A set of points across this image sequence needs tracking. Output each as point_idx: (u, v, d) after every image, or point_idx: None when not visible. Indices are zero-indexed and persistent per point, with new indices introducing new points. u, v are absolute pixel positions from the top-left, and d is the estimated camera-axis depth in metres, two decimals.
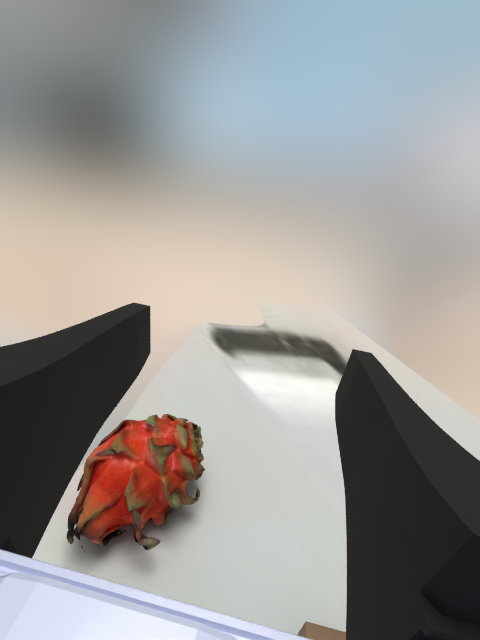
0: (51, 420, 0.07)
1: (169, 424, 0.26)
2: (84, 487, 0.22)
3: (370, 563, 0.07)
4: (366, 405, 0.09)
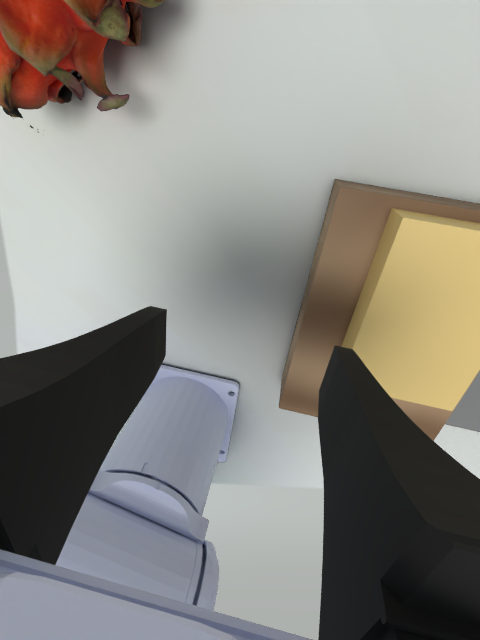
0: (76, 426, 0.07)
1: None
2: None
3: (341, 555, 0.07)
4: (344, 400, 0.09)
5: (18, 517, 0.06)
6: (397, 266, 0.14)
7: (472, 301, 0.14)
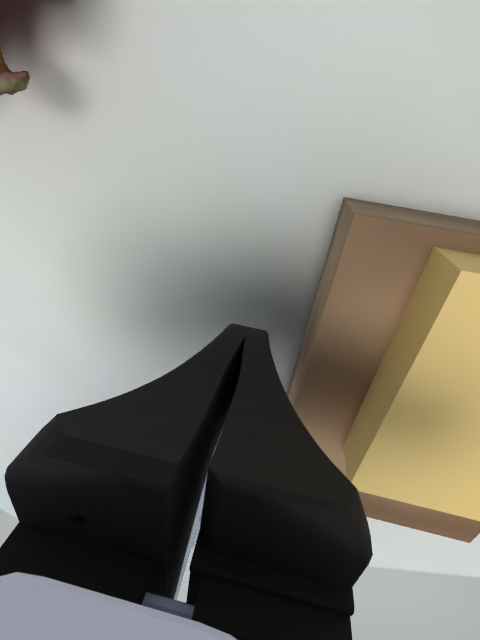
0: (201, 457, 0.07)
1: None
2: None
3: None
4: None
5: (171, 560, 0.06)
6: (446, 341, 0.09)
7: None
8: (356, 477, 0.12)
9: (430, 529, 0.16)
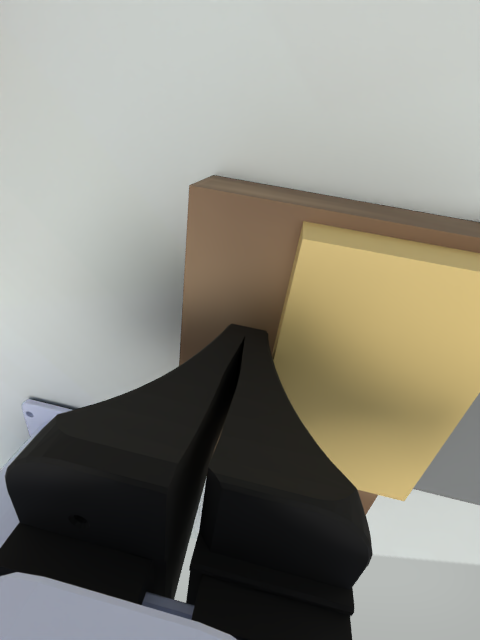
0: (201, 458, 0.07)
1: None
2: None
3: None
4: None
5: (171, 560, 0.06)
6: (304, 311, 0.09)
7: (419, 363, 0.09)
8: None
9: None
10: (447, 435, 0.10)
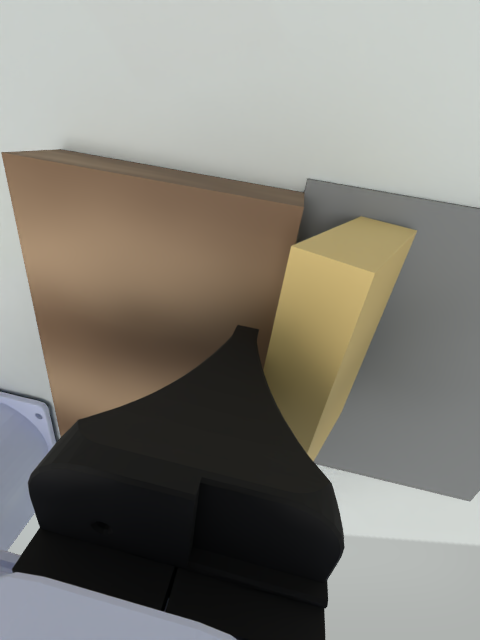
0: None
1: None
2: None
3: None
4: None
5: None
6: (352, 340, 0.08)
7: (375, 320, 0.11)
8: None
9: None
10: None
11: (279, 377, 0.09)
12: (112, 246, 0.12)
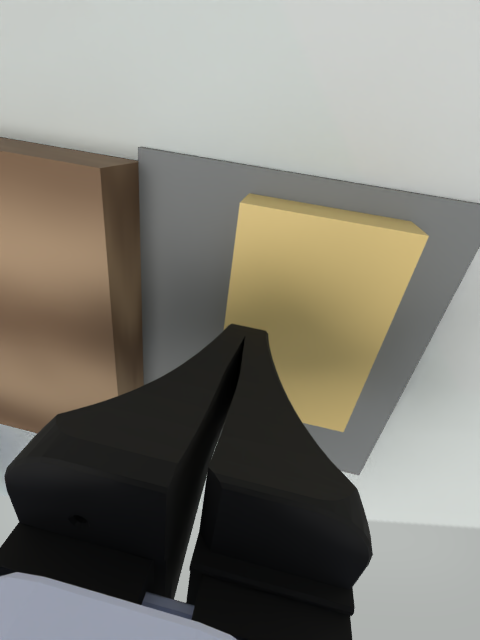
0: (201, 458, 0.07)
1: None
2: None
3: None
4: None
5: (171, 560, 0.06)
6: None
7: None
8: None
9: None
10: None
11: None
12: None
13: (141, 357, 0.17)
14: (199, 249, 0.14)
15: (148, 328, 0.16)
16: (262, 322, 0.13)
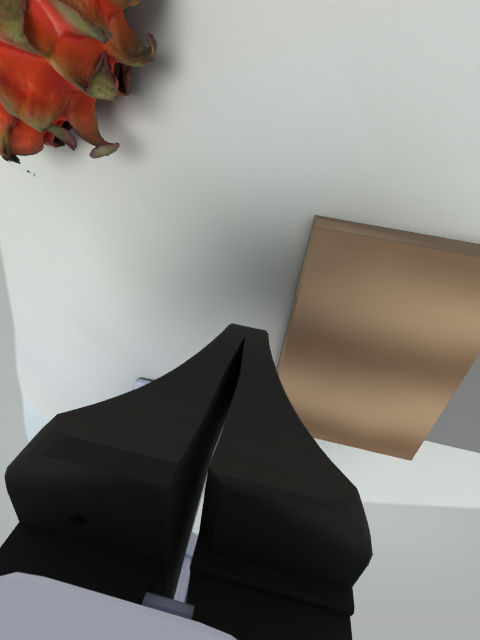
0: (201, 457, 0.07)
1: None
2: None
3: None
4: None
5: (171, 560, 0.06)
6: None
7: None
8: None
9: (382, 451, 0.22)
10: None
11: None
12: (376, 289, 0.17)
13: None
14: None
15: None
16: None
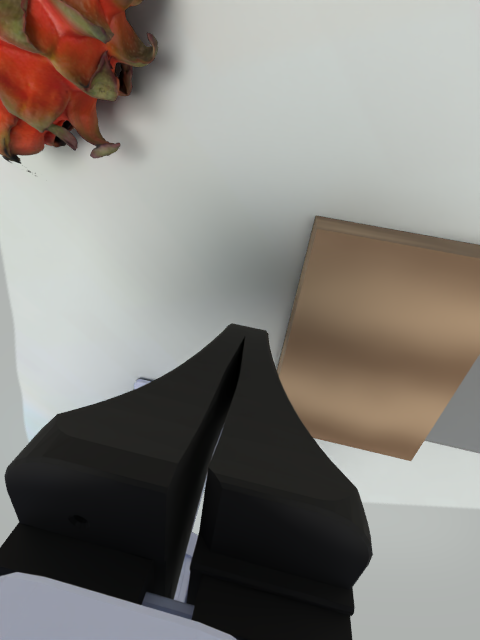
0: (201, 457, 0.07)
1: None
2: None
3: None
4: None
5: (171, 560, 0.06)
6: None
7: None
8: None
9: (382, 451, 0.22)
10: None
11: None
12: (376, 289, 0.17)
13: None
14: None
15: None
16: None
